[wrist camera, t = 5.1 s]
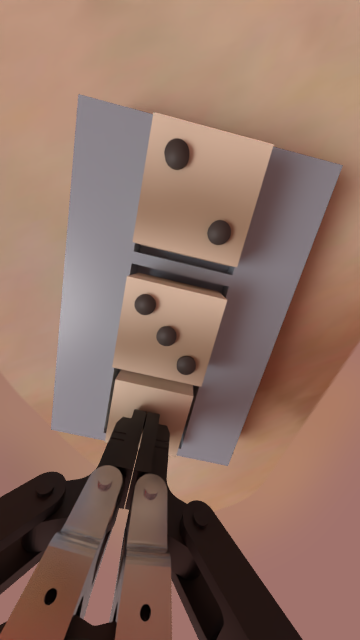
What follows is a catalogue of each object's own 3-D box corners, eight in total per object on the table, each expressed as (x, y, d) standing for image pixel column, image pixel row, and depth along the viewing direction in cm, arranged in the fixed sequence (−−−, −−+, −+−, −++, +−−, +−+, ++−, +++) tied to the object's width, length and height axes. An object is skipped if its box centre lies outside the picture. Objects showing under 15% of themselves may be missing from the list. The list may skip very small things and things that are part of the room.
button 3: (139, 272, 12) (125, 276, 9) (218, 291, 12) (228, 300, 9) (125, 346, 13) (110, 369, 10) (198, 363, 13) (201, 389, 10)
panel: (100, 128, 12) (78, 94, 9) (311, 183, 12) (342, 165, 10) (70, 404, 17) (50, 429, 14) (221, 436, 17) (228, 465, 15)
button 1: (127, 359, 14) (114, 381, 12) (192, 373, 14) (193, 398, 12) (117, 413, 15) (103, 445, 13) (177, 426, 16) (175, 459, 13)
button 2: (161, 147, 10) (152, 107, 7) (252, 171, 10) (276, 141, 8) (143, 245, 11) (131, 241, 9) (226, 265, 11) (238, 267, 9)
